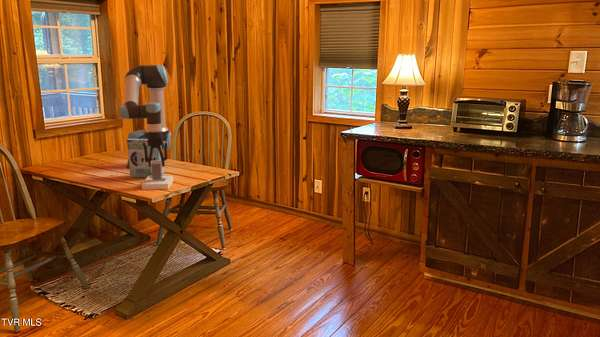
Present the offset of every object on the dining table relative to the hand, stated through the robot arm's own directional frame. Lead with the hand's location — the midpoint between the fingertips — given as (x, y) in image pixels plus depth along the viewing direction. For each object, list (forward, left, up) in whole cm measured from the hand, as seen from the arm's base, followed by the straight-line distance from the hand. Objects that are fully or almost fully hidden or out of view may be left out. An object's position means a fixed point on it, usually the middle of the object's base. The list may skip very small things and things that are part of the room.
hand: (157, 172), depth 273 cm
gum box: (-19, -10, -8) cm, 23 cm away
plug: (0, 0, -4) cm, 4 cm away
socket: (0, 0, -7) cm, 7 cm away
